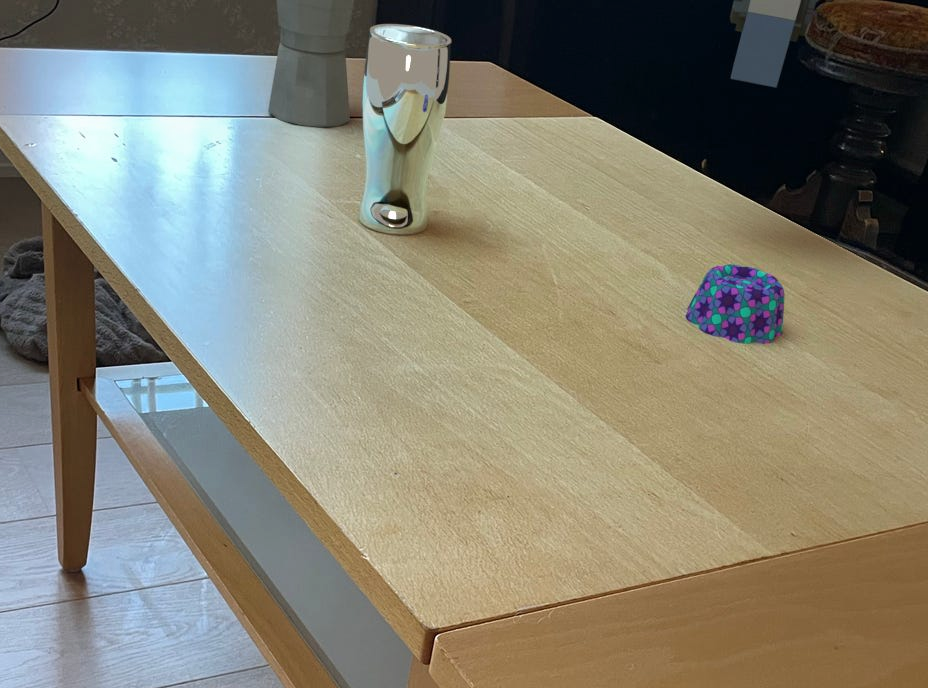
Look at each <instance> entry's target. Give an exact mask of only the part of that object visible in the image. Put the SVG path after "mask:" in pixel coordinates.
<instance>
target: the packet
mask: <svg viewBox="0 0 928 688" xmlns="http://www.w3.org/2000/svg"><path fill="white" fill-rule="evenodd" d="M800 3H801V0H751V1H750V5H749V8H748V12H747V16H746V20H745V24H744V28H743V32H741V35H740V39H739V43H738V47H737V50H736V54H735V58H734V62H733V66H732V71H731V75H730V79H731V80H734V81H740V82H745V83H746V82H747V83H750V84H755V85H760V86H766V87H772V88H778V83H779V80H780V76H781V74H782V70H783V66H784V63H785V59H786V55H787V51H788V48H789V45H790V38H791V34H792V31H793V27H794V24H795V20H796V17H797V13H798V10H799V6H800Z"/></svg>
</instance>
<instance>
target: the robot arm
mask: <svg viewBox="0 0 928 688" xmlns="http://www.w3.org/2000/svg"><path fill="white" fill-rule="evenodd" d="M750 1H751V0H733V3H732V6H731V11H730V15H729V20H730V23H731V24H734V25H735V28H734V31H735V32H741V33H742V32H743V28H744V24H745V20H746V16H747V12H748V8H749V5H750ZM819 1H820V0H801V3H800V6H799V10H798V13H797V17H796V20H795V24H794V27H793V31H792V34H791V38H790V41H791V42H798V39H799V36H802V37H805V36H806V35H807V33H808V32H809V29H810V26H811V24H812V20H813V16H814V12H815V8H816V5H817V2H819ZM824 1H825V2H827V3H835V2H836V1H837V0H824Z"/></svg>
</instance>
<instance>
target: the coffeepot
mask: <svg viewBox="0 0 928 688" xmlns="http://www.w3.org/2000/svg"><path fill="white" fill-rule="evenodd" d="M354 4H355V0H276V10H277V21H278V22H277V23H278V26H280V36H279V37H280V39H279V40H280V42H279V45H278V50H277V57H276V63H275V68H274V74H273V79H272V86H271V92H270V97H269V103H268V110H267V112H268V113H269V114H270V115H271V116H272V117H274V118H276V119H278V120H280V121H283V122H286V123H290V124H294V125H298V126H306V127H313V128H314V127H315V128H331V127H338V126H343V125H345V124H347V123H349V122H350V121H351V116H350V115H351V113H350V100H349V99H350V98H349V84H348V71H347V57H346V55H347V54H346V39H347V35H348V34H349V32H350V31H349V30H350V26H351V22H352V21H351V20H352V15H353V9H354Z"/></svg>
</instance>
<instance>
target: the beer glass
mask: <svg viewBox="0 0 928 688" xmlns="http://www.w3.org/2000/svg"><path fill="white" fill-rule="evenodd" d="M451 47H452V39H451V37H450V36H448V35H447V34H444V33H442V32H440V31H437V30H434V29H430V28H427V27H422V26H416V25H410V24H399V23H382V24H376V25H373V26H371V27H370V28H369V36H368V42H367V49H366V56H365V63H364V69H363V80H362V91H361V92H362V93H361V95H362V96H361V112H362V131H363V142H364V143H363V144H364V154H365V155H364V156H365V180H364V188H363V193H362V196H361V201H360V204H359V208H358V212H357V219H358V220H357V221H359V223H360V224H361V225H363V226H364V227H365V228H368V229H370V230H373V231H375V232H378V233H382V234H389V235H396V236H397V235H398V236H399V235H400V236H405V235H406V236H407V235H415V234H419V233H422V232H424V231H425V230H426V229H427V227H428V207H427V205H428V204H427V191H428V181H429V175H430V172H431V167H432V163H433V160H434V157H435V153H436V149H437V146H438V143H439V139H440V135H441V132H442V129H443V124H444V119H445V115H446V109H447V102H448V96H449V85H450V69H451V50H452V49H451Z"/></svg>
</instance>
